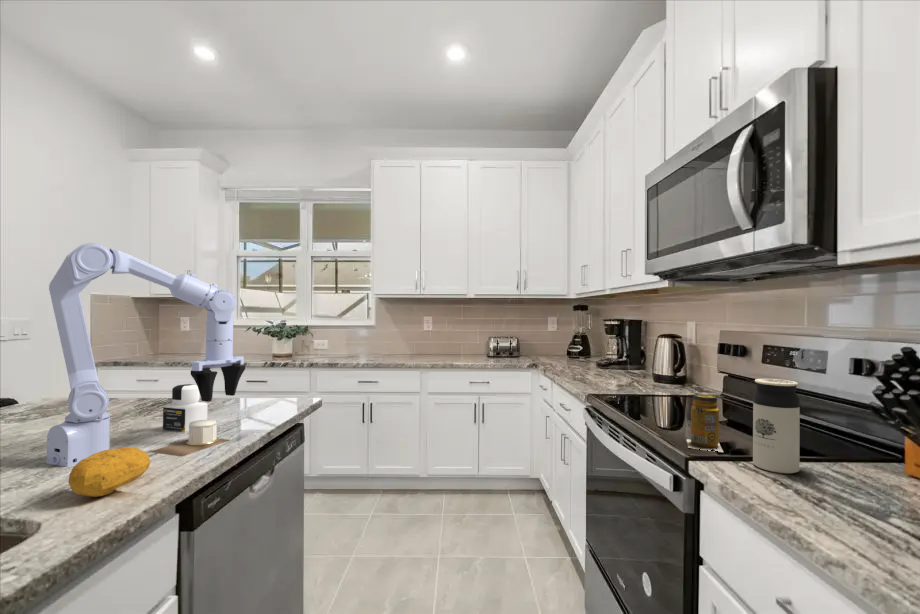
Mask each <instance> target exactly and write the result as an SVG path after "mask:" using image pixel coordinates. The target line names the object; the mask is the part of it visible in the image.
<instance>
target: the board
mask: <svg viewBox="0 0 920 614" xmlns="http://www.w3.org/2000/svg"><path fill="white" fill-rule="evenodd" d="M188 440H189V439H187V440H184V441H181V442H177V443H173V444H171V445H168V446H164V447H160V448H157V449H154V450H153V449H152V450H150V451H149V453H153V454H162V455H166V456H167V455H169V456H177V457H185V456H188V455H190V454H193V453H194V454H195V453H197V452H199V451H203V450H206V449H209V448H212V447H216V446H217V445H221V444H223V443H227V442H230V441H231V439H227V438H226V439H224V438H219V441H218V442H216V443H214V444H210V445H204V446H189V445H187V441H188Z"/></svg>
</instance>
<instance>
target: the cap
mask: <svg viewBox="0 0 920 614" xmlns="http://www.w3.org/2000/svg"><path fill="white" fill-rule="evenodd" d="M217 426H218V424H217V420H215V419H207V420H197V421H193V422H190V423H189V431H188V440H189V442H190V443H192V444H201V443H208V442H212V441H214V440H216V438H218V437H217V435H218V434H217V431H218V429H217V428H218V427H217Z"/></svg>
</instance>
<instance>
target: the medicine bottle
mask: <svg viewBox="0 0 920 614" xmlns="http://www.w3.org/2000/svg"><path fill="white" fill-rule="evenodd" d="M171 391H172V392H171V396H172V397H171V402H172V403H170V404H166V405H163V408H162V409H163V410H162V430H163V431H172V432H179V433H181V432H182V433H186V432H189V423H190V422H193V421H197V420H208V406H209V405H208V402H205V401H200V397H201V396H200V392H199V389H198V386H197V384H196V383H195V384H191V383H188V384H187V383H185V384H179V385H178V384H177V385H175V386H173V388H172V389H171Z"/></svg>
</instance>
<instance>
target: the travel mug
mask: <svg viewBox="0 0 920 614" xmlns="http://www.w3.org/2000/svg"><path fill="white" fill-rule="evenodd" d="M754 382H755V384H756V390H755V392H754V393H753V396H752V397H753V398H752V405H753V406H752V409H753V410H752V413H753V414H752V419H753V420H752V425H753V426H752V463H753V465H754V466H755V467H757V468H759V469H761V470H764V471H767V472H771V473H776V474H783V475H784V474H785V475H788V474H795V473H798V472H800V448H801V447H800V444H801V443H800V436H801V435H800V421H801V420H800V417H801V416H800V413H801V412H800V410H801V409H800V407H801V405H800V404H801V403H800V402H801V401H800V398H799V395H798V394H797V392H796V391H797V387H798V386H799V382H797V381H793V380H787V379H779V378H755V380H754Z"/></svg>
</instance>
